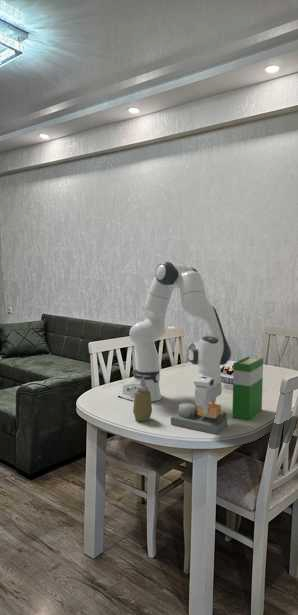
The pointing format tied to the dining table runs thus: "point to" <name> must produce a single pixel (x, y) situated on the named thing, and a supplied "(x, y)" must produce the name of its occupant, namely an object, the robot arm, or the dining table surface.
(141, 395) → the squeeze bottle
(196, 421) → the panel with grey ball
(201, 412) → the chute
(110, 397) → the dining table surface
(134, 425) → the dining table surface
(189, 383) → the dining table surface
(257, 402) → the hardback book
